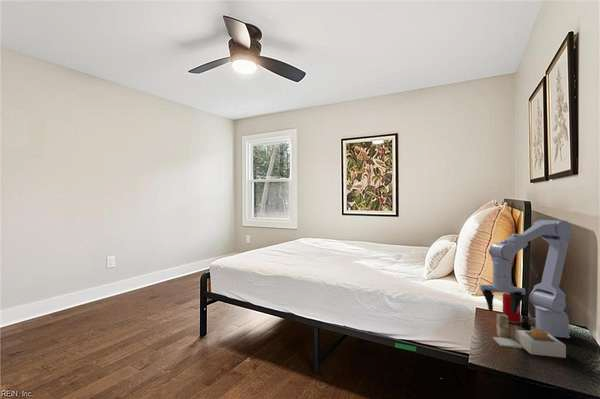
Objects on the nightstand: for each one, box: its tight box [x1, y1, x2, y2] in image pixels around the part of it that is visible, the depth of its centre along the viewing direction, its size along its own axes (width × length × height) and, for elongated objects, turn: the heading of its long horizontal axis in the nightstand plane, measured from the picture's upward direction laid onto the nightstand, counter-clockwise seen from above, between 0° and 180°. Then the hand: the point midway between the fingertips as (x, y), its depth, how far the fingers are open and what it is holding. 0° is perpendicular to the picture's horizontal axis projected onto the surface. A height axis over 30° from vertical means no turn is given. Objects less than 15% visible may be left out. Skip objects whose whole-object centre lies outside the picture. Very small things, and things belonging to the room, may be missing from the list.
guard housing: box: [514, 329, 567, 359], centre depth 101 cm, size 10×10×4 cm
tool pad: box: [493, 336, 523, 349], centre depth 105 cm, size 6×6×1 cm
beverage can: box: [502, 292, 522, 324], centre depth 126 cm, size 6×6×12 cm
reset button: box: [530, 328, 548, 339], centre depth 101 cm, size 3×3×3 cm
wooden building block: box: [496, 313, 509, 338], centre depth 111 cm, size 3×3×8 cm
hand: (501, 311), depth 110 cm, fingers open, 7 cm apart
